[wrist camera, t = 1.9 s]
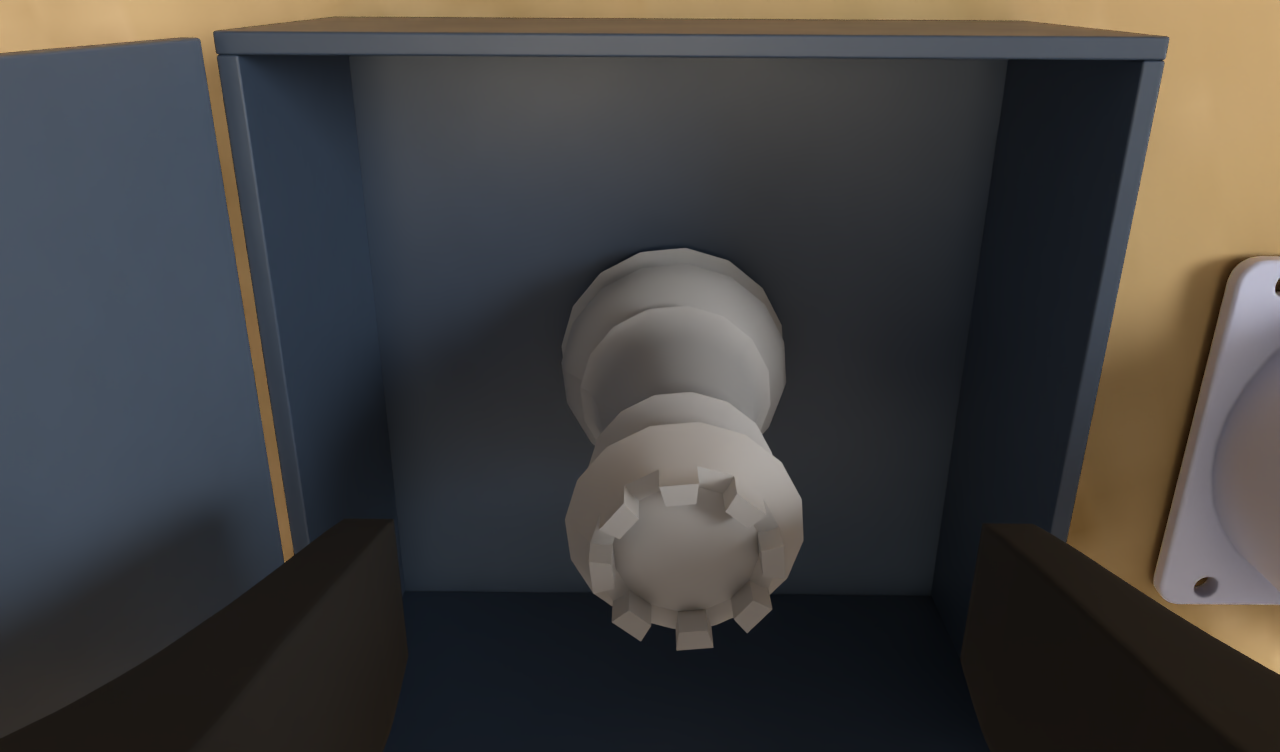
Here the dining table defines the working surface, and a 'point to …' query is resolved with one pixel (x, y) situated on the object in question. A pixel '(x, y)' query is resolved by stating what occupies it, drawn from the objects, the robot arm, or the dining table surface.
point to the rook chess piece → (679, 445)
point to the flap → (118, 372)
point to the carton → (715, 225)
